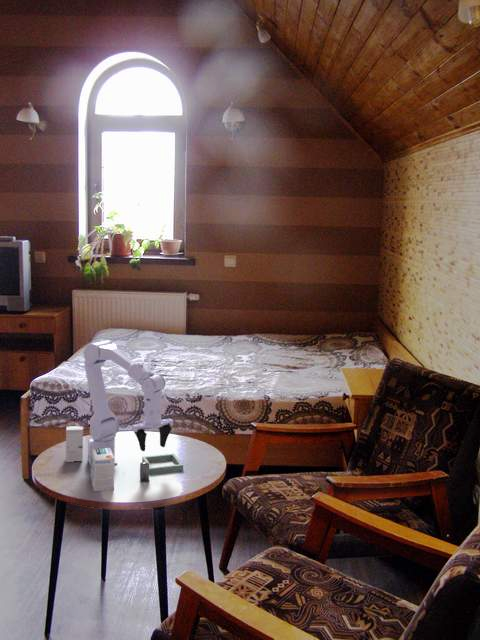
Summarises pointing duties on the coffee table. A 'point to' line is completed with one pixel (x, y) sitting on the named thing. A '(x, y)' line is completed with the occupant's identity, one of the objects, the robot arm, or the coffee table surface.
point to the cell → (144, 472)
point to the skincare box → (74, 443)
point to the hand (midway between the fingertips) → (152, 448)
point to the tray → (163, 468)
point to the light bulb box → (102, 469)
